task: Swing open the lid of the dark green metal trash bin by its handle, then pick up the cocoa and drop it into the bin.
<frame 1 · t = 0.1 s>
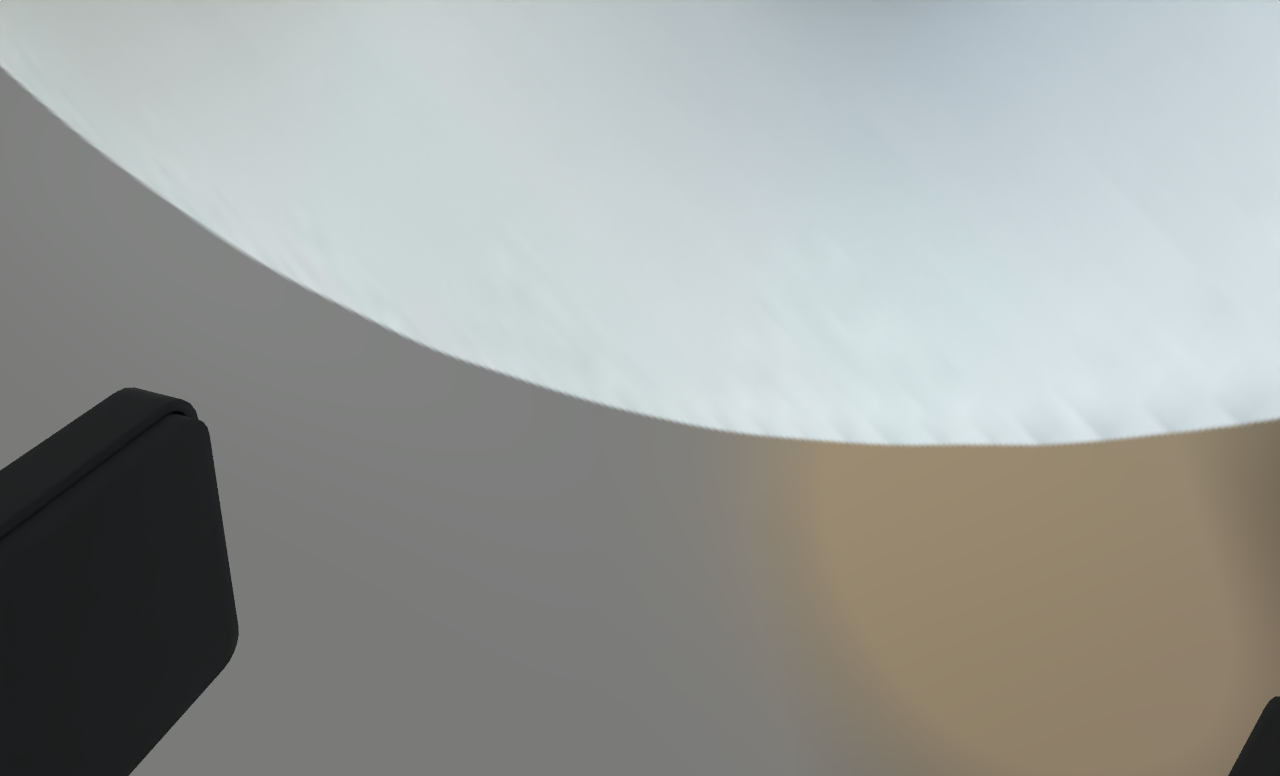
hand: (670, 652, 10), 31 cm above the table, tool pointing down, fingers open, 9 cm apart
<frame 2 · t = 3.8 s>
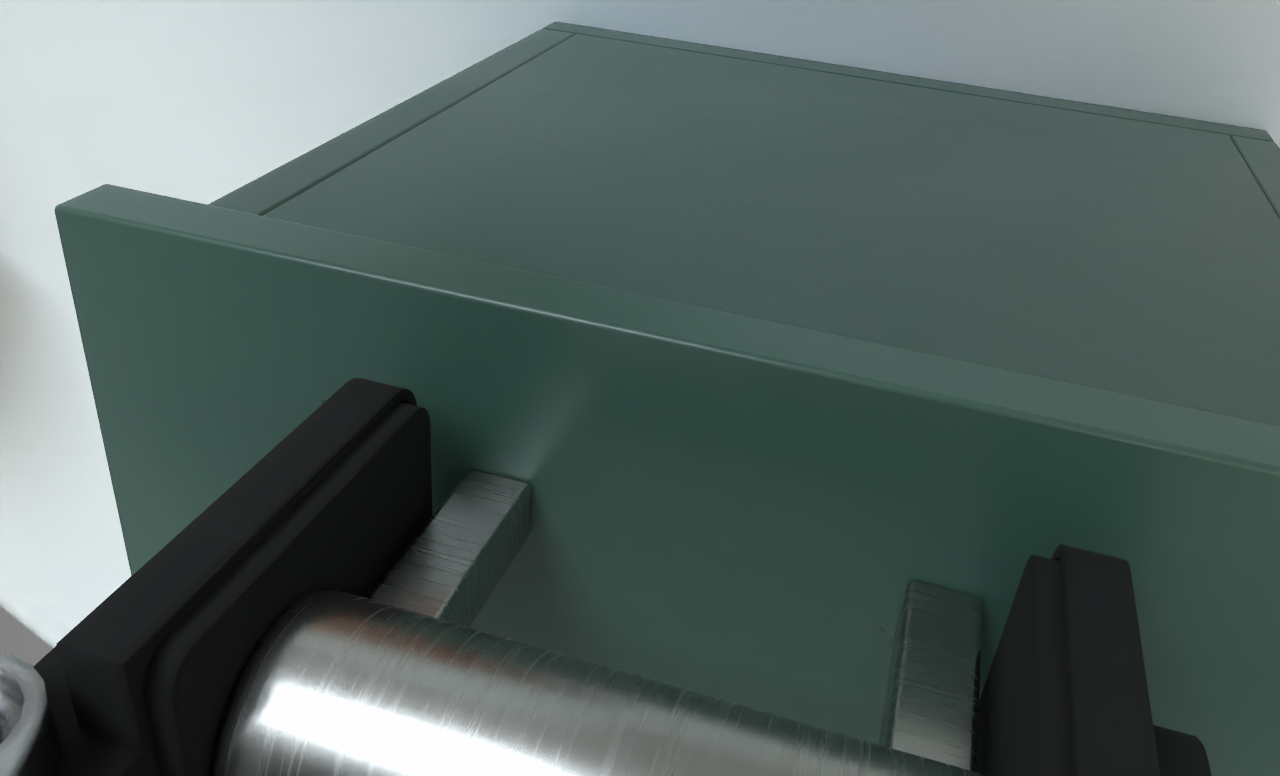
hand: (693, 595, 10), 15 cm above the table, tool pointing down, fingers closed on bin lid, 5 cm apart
trash bin: (816, 428, 27), on the table
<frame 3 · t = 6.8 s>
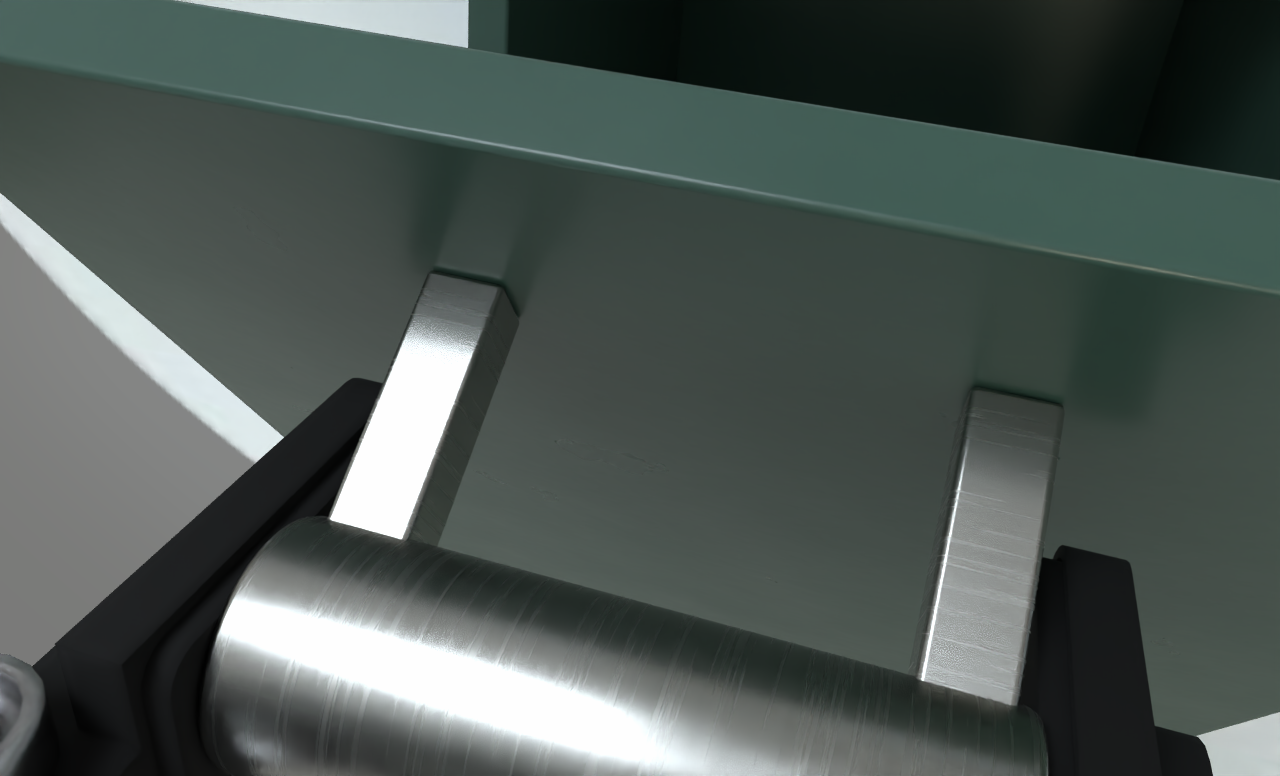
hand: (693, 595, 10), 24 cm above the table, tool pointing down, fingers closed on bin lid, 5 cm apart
bin lid: (715, 680, 14), point 22 cm above the table, hinge at 38.2°, touching gripper
trash bin: (899, 100, 31), on the table
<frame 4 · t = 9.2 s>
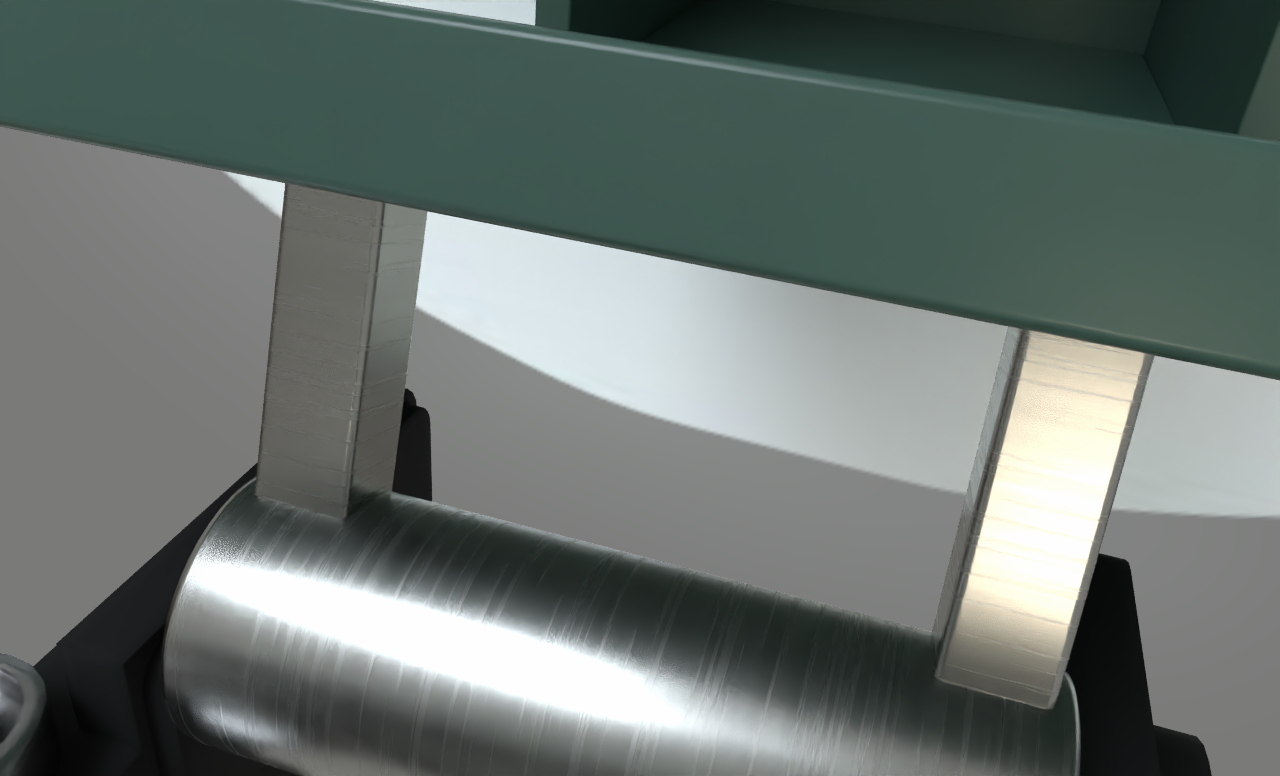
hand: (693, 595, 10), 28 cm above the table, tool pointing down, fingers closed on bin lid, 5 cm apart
bin lid: (782, 348, 13), point 24 cm above the table, hinge at 71.1°, touching gripper
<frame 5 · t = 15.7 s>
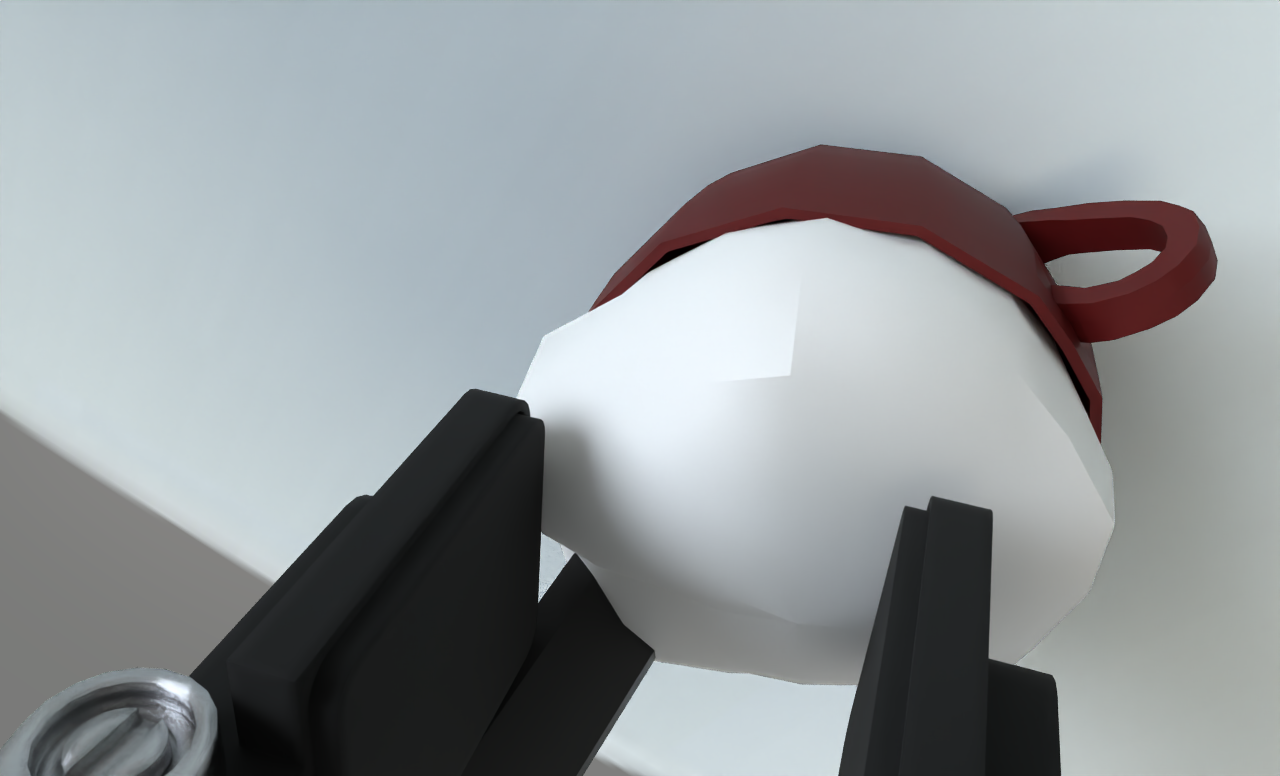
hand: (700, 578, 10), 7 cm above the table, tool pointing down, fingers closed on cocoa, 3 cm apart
cocoa: (812, 299, 16), on the table, touching gripper
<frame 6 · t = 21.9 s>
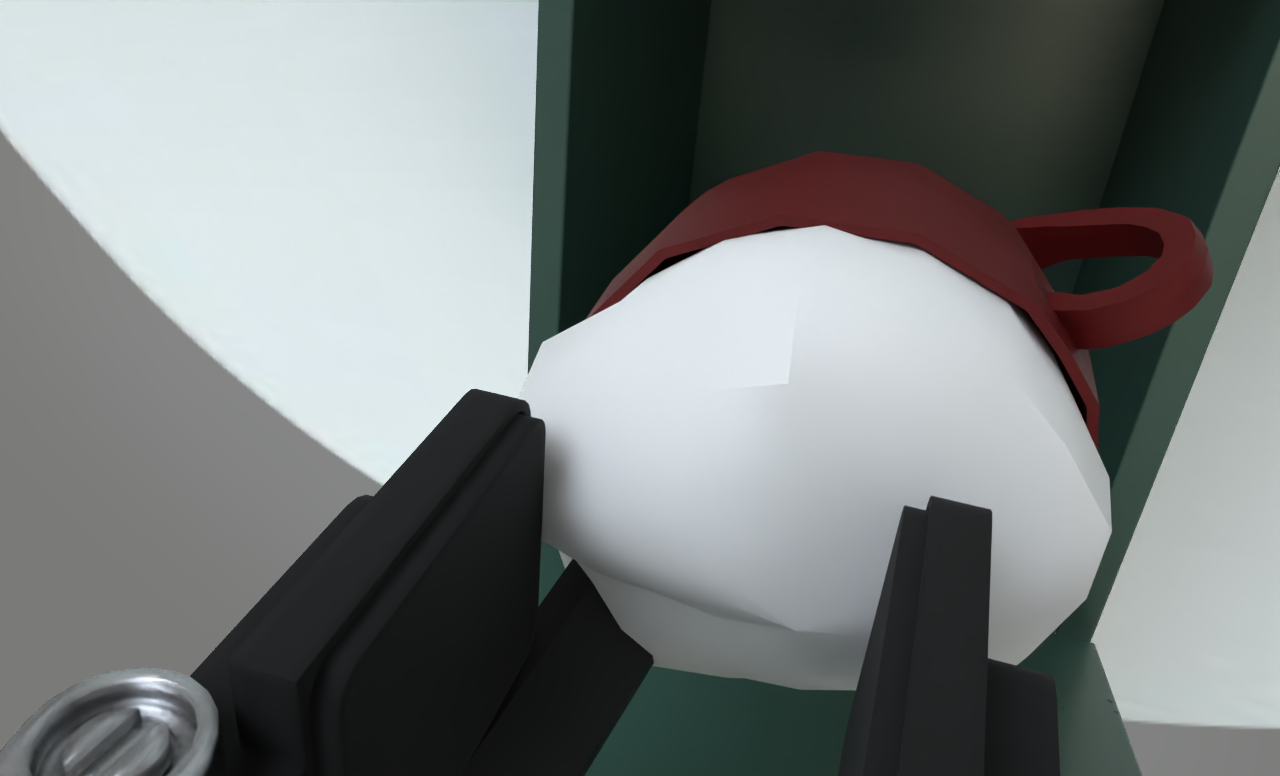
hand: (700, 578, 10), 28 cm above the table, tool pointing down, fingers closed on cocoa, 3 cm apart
cocoa: (810, 303, 16), point 21 cm above the table, touching gripper
trash bin: (907, 92, 34), on the table
when the fingers open (19 cm above the table, at t = 24.5 s): cocoa drops 11 cm, resting on trash bin.
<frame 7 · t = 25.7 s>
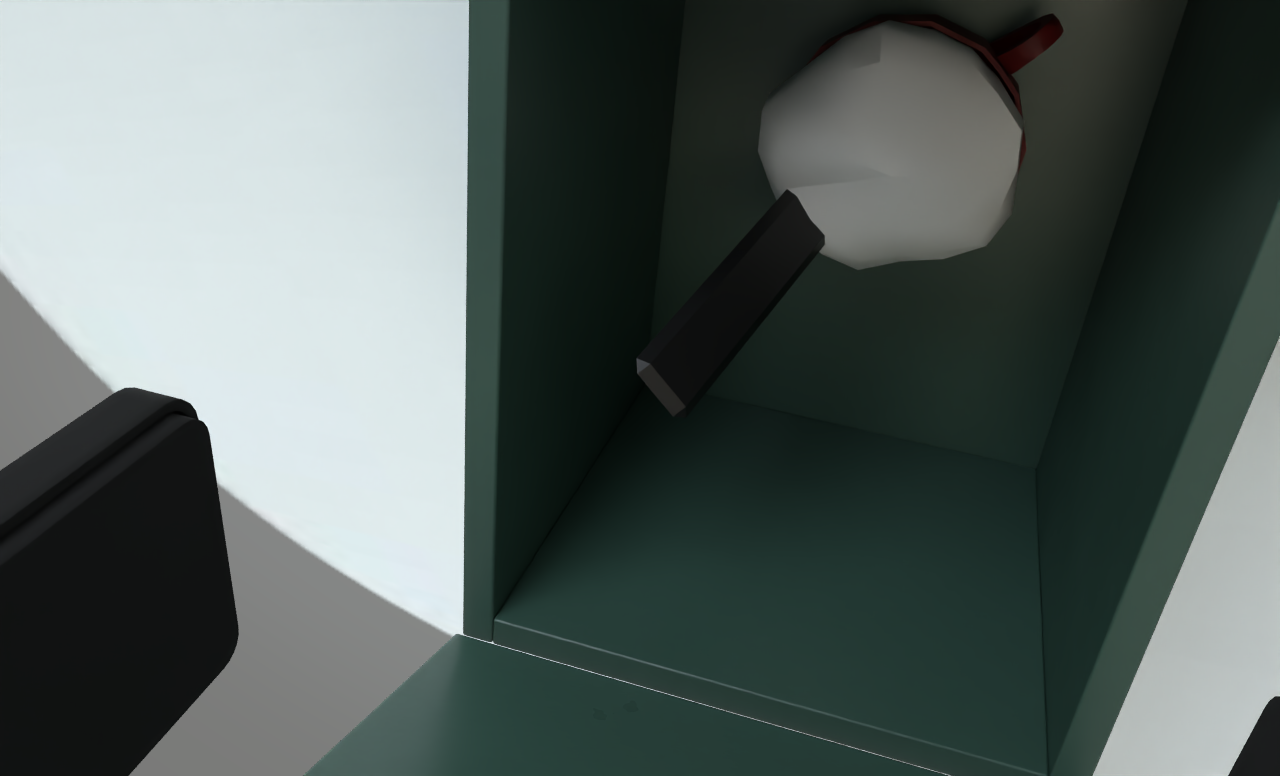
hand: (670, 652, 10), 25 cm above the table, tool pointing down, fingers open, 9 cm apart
cocoa: (891, 115, 31), point 1 cm above the table, touching trash bin
trash bin: (884, 183, 32), on the table
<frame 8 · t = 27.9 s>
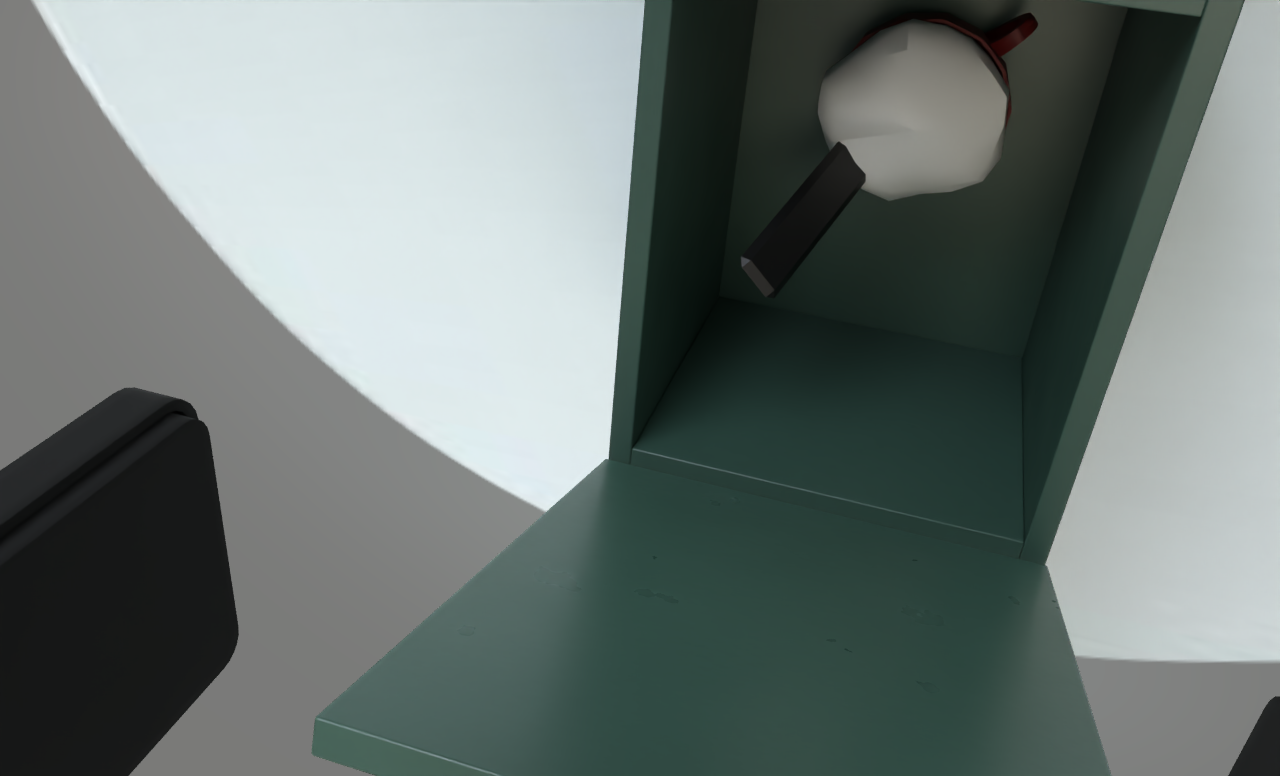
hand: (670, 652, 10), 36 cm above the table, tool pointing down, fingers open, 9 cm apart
bin lid: (761, 710, 27), point 24 cm above the table, hinge at 72.3°
cocoa: (912, 86, 41), point 1 cm above the table, touching trash bin
trash bin: (906, 138, 43), on the table
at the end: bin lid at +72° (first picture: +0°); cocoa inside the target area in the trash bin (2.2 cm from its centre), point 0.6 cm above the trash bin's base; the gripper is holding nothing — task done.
